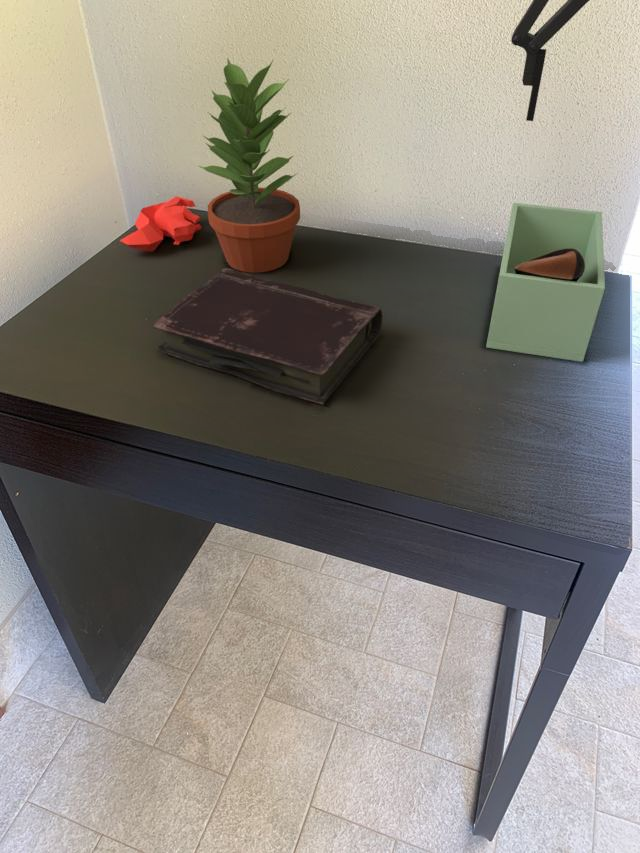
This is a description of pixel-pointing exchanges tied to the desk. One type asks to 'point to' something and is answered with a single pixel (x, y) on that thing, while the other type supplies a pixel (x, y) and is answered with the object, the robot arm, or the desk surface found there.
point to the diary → (271, 333)
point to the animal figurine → (163, 224)
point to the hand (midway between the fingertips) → (594, 122)
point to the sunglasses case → (555, 265)
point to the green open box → (548, 284)
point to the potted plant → (250, 178)
